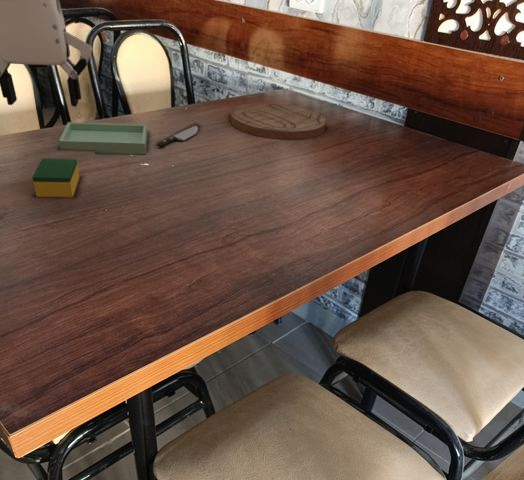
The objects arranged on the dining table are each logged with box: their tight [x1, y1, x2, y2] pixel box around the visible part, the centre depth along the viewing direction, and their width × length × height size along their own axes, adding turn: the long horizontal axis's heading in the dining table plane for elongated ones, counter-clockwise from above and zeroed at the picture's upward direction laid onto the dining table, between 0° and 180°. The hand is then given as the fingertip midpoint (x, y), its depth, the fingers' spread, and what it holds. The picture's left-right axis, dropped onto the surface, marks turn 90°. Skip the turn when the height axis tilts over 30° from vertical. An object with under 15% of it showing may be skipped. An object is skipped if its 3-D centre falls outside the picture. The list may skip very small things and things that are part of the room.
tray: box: [58, 121, 148, 155], centre depth 111 cm, size 17×13×2 cm
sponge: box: [32, 157, 80, 198], centre depth 90 cm, size 6×9×4 cm, turn 8°
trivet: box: [230, 102, 327, 141], centre depth 132 cm, size 25×25×2 cm
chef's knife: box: [157, 125, 199, 148], centre depth 118 cm, size 19×1×3 cm
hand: (44, 103), depth 82 cm, fingers open, 9 cm apart
